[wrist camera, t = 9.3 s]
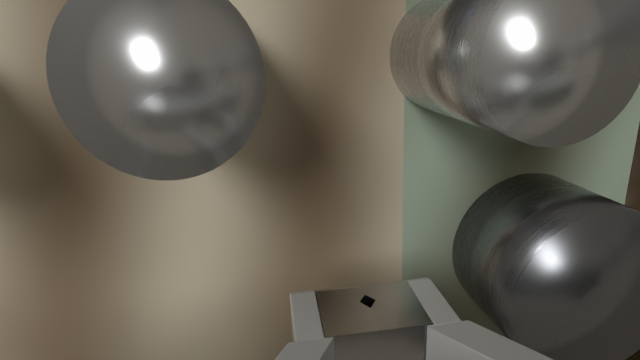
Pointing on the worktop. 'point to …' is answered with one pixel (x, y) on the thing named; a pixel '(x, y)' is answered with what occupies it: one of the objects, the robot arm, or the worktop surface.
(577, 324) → the dark metal plug
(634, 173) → the worktop surface
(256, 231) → the board
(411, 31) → the spacers
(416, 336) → the robot arm
